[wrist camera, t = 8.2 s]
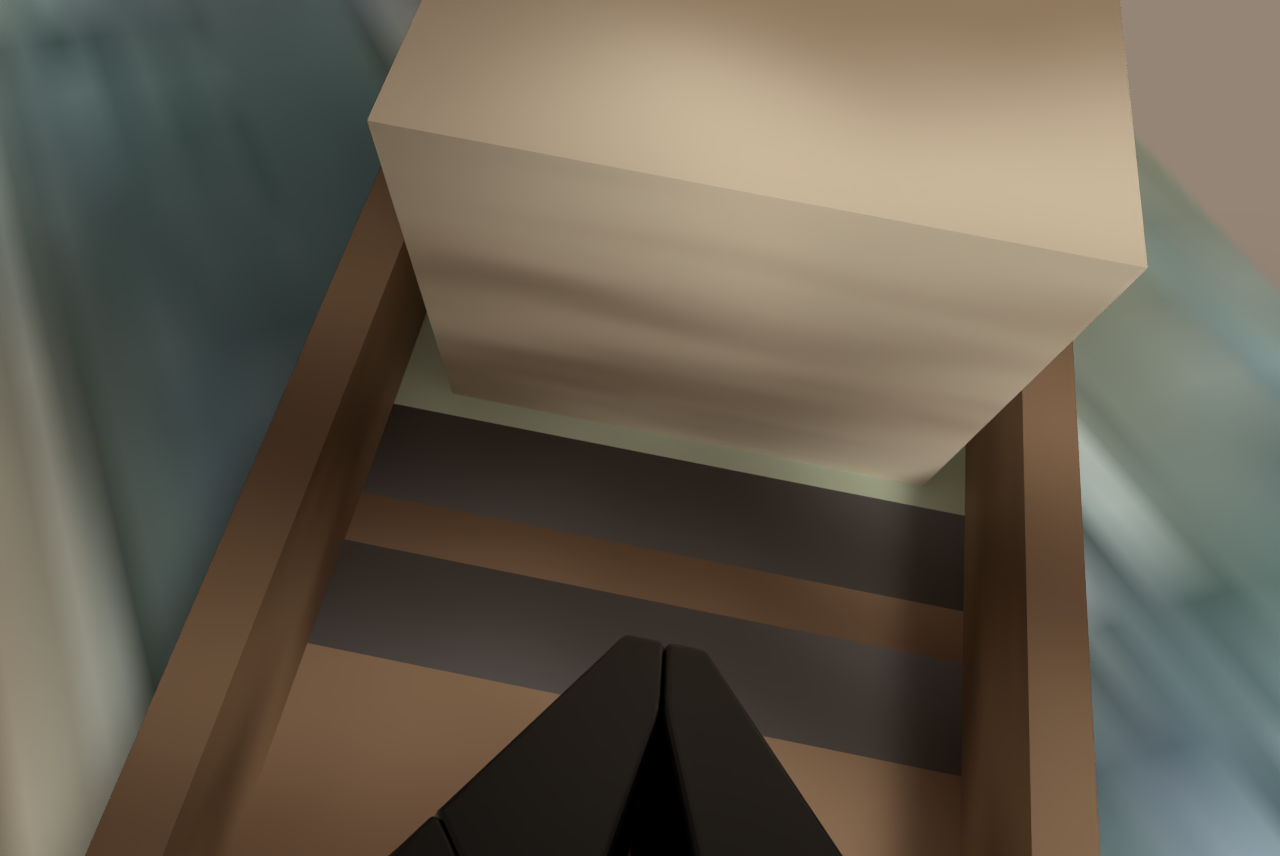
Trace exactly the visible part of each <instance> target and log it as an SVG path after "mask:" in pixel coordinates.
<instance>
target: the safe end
mask: <svg viewBox="0 0 1280 856" xmlns="http://www.w3.org/2000/svg"><path fill="white" fill-rule="evenodd" d="M394 404H398V405H404V406H409V407H414V408H418V409H424V410H429V411H434V412H439V413H444V414H449V415H454V416H459V417H465V418H469V419H475V420H479V421H485V422H490V423H495V424H500V425H505V426H510V427H516V428H521V429H525V430H531V431H536V432H541V433H546V434H551V435H556V436H561V437H567V438H571V439H576V440H582V441H587V442H591V443H597V444H602V445H607V446H612V447H617V448H622V449H628V450H632V451H637V452H642V453H648V454H653V455H658V456H663V457H668V458H673V459H678V460H683V461H688V462H694V463H698V464H704V465H709V466H714V467H719V468H724V469H730V470H734V471H740V472H745V473H750V474H754V475H760V476H765V477H770V478H775V479H781V480H785V481H790V482H795V483H801V484H806V485H811V486H816V487H821V488H826V489H831V490H836V491H841V492H847V493H851V494H857V495H861V496H867V497H872V498H877V499H882V500H887V501H892V502H898V503H902V504H907V505H913V506H917V507H923V508H928V509H933V510H938V511H943V512H948V513H953V514H958V515H964V516H965V457H966V445H965V446H964V447H963V448H962V449H961V450H960V451H959V452H958V453H956V454H955V455H954V456H953V457H952V458H951V459H950V460H949V461H948V462H947V463H946V464H945V465H944V466H943V467H942V468H941V469H940V470H939V471H938V472H937V473H936V474H935V475H934V476H933V477H932V478H931V479H930V480H929V481H928V482H927V483H926V484H925V485H924V486H919V485H914V484H909V483H904V482H899V481H894V480H889V479H884V478H879V477H874V476H869V475H864V474H858V473H853V472H848V471H843V470H838V469H833V468H828V467H823V466H818V465H813V464H808V463H803V462H797V461H792V460H787V459H782V458H777V457H772V456H767V455H762V454H757V453H752V452H747V451H742V450H736V449H731V448H726V447H721V446H716V445H711V444H706V443H701V442H696V441H691V440H686V439H681V438H676V437H670V436H665V435H660V434H655V433H650V432H645V431H640V430H635V429H630V428H625V427H620V426H615V425H609V424H604V423H599V422H594V421H589V420H584V419H579V418H574V417H569V416H564V415H559V414H554V413H548V412H543V411H538V410H533V409H528V408H523V407H518V406H513V405H508V404H503V403H498V402H493V401H487V400H482V399H477V398H472V397H467V396H462V395H457V394H452V390H451V387H450V384H449V381H448V378H447V374H446V371H445V368H444V365H443V362H442V358H441V355H440V352H439V349H438V346H437V342H436V339H435V336H434V333H433V330H432V326H431V323H430V320H429V317H428V314H427V312H426V315H425V318H424V321H423V324H422V326H421V329H420V332H419V335H418V337H417V340H416V343H415V346H414V349H413V351H412V354H411V357H410V360H409V363H408V365H407V368H406V371H405V374H404V376H403V379H402V382H401V385H400V388H399V390H398V393H397V396H396V399H395V401H394Z"/></svg>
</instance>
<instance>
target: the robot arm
mask: <svg viewBox="0 0 1280 856" xmlns="http://www.w3.org/2000/svg"><path fill="white" fill-rule="evenodd" d="M389 856H843V855H842V854H841V852H840V851H839V849H838V848H837V846H836V845H835V843H834V842H833V840H832V839H831V837H830V836H829V834H828V833H827V831H826V830H825V828H824V827H823V826H822V824H821V823H820V821H819V820H818V818H817V817H816V815H815V814H814V812H813V811H812V809H811V808H810V806H809V805H808V803H807V802H806V800H805V799H804V797H803V796H802V794H801V793H800V791H799V790H798V788H797V787H796V785H795V784H794V782H793V781H792V779H791V778H790V776H789V775H788V773H787V772H786V770H785V769H784V767H783V766H782V764H781V763H780V761H779V760H778V758H777V757H776V755H775V754H774V752H773V751H772V749H771V748H770V746H769V745H768V743H767V742H766V740H765V739H764V737H763V736H762V734H761V733H760V731H759V730H758V728H757V727H756V725H755V724H754V722H753V721H752V719H751V718H750V716H749V715H748V713H747V712H746V710H745V709H744V707H743V706H742V704H741V703H740V701H739V700H738V698H737V697H736V695H735V694H734V692H733V691H732V689H731V688H730V686H729V685H728V683H727V682H726V680H725V679H724V677H723V676H722V674H721V673H720V671H719V670H718V668H717V667H716V665H715V664H714V662H713V661H712V659H711V658H710V656H709V655H708V654H707V653H706V652H705V651H703V650H701V649H696V648H691V647H685V646H680V645H675V644H669V645H667V646H666V647H665V649H664V647H663V645H662V644H661V643H660V642H659V641H655V640H650V639H646V638H641V637H636V636H631V635H626V636H623V637H622V638H621V639H620V640H619V641H618V642H616V643H615V644H614V645H613V646H612V647H611V648H610V649H609V650H608V651H607V652H606V653H605V654H604V655H603V656H602V657H600V658H599V659H598V660H597V661H596V662H595V663H594V664H593V665H592V666H591V667H590V668H589V669H588V670H587V671H586V672H585V673H583V674H582V675H581V676H580V677H579V678H578V679H577V680H576V681H575V682H574V683H573V684H572V685H571V686H570V687H569V688H567V689H566V690H565V691H564V692H563V693H562V694H561V695H560V696H559V697H558V698H557V699H556V700H555V701H554V702H553V703H552V704H550V705H549V706H548V707H547V708H546V709H545V710H544V711H543V712H542V713H541V714H540V715H539V716H538V717H537V718H536V719H534V720H533V721H532V722H531V723H530V724H529V725H528V726H527V727H526V728H525V729H524V730H523V731H522V732H521V733H520V734H519V735H517V736H516V737H515V738H514V739H513V740H512V741H511V742H510V743H509V744H508V745H507V746H506V747H505V748H504V749H503V750H502V751H500V752H499V753H498V754H497V755H496V756H495V757H494V758H493V759H492V760H491V761H490V762H489V763H488V764H487V765H486V766H484V767H483V768H482V769H481V770H480V771H479V772H478V773H477V774H476V775H475V776H474V777H473V778H472V779H471V780H470V781H469V782H467V783H466V784H465V785H464V786H463V787H462V788H461V789H460V790H459V791H458V792H457V793H456V794H455V795H454V796H453V797H451V798H450V799H449V800H448V801H447V802H446V803H445V804H444V805H443V806H442V807H441V808H440V809H439V810H438V811H437V812H436V815H435V816H432V817H430V818H428V819H427V820H426V821H425V822H424V823H423V824H422V825H421V826H420V827H419V828H418V829H417V830H416V831H415V832H414V833H413V834H412V835H410V836H409V837H408V838H407V839H406V840H405V841H404V842H403V843H402V844H401V845H400V846H399V847H398V848H397V849H395V850H394V851H393V852H392V853H391V854H390V855H389Z"/></svg>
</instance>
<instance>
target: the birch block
mask: <svg viewBox="0 0 1280 856" xmlns="http://www.w3.org/2000/svg"><path fill="white" fill-rule="evenodd" d="M367 122H368V125H369V128H370V132H371V135H372V138H373V141H374V144H375V148H376V151H377V154H378V157H379V160H380V164H381V167H382V170H383V173H384V176H385V180H386V183H387V186H388V189H389V192H390V196H391V199H392V202H393V205H394V208H395V211H396V215H397V218H398V221H399V224H400V227H401V231H402V234H403V237H404V240H405V243H406V247H407V250H408V253H409V256H410V259H411V263H412V266H413V269H414V272H415V275H416V279H417V282H418V285H419V288H420V291H421V295H422V298H423V301H424V304H425V307H426V311H427V314H428V317H429V320H430V323H431V326H432V330H433V333H434V336H435V339H436V342H437V346H438V349H439V352H440V355H441V358H442V362H443V365H444V368H445V371H446V374H447V378H448V381H449V384H450V387H451V390H452V394H457V395H462V396H467V397H472V398H477V399H482V400H487V401H493V402H498V403H503V404H508V405H513V406H518V407H523V408H528V409H533V410H538V411H543V412H548V413H554V414H559V415H564V416H569V417H574V418H579V419H584V420H589V421H594V422H599V423H604V424H609V425H615V426H620V427H625V428H630V429H635V430H640V431H645V432H650V433H655V434H660V435H665V436H670V437H676V438H681V439H686V440H691V441H696V442H701V443H706V444H711V445H716V446H721V447H726V448H731V449H736V450H742V451H747V452H752V453H757V454H762V455H767V456H772V457H777V458H782V459H787V460H792V461H797V462H803V463H808V464H813V465H818V466H823V467H828V468H833V469H838V470H843V471H848V472H853V473H858V474H864V475H869V476H874V477H879V478H884V479H889V480H894V481H899V482H904V483H909V484H914V485H919V486H924V485H925V484H926V483H927V482H928V481H929V480H930V479H931V478H932V477H933V476H934V475H935V474H936V473H937V472H938V471H939V470H940V469H941V468H942V467H943V466H944V465H945V464H946V463H947V462H948V461H949V460H950V459H951V458H952V457H953V456H954V455H955V454H956V453H958V452H959V451H960V450H961V449H962V448H963V447H964V446H965V445H966V444H967V443H968V442H969V441H970V440H971V439H972V438H973V437H974V436H975V435H976V434H977V433H978V432H979V431H980V430H981V429H982V428H983V427H984V426H985V425H986V424H987V423H988V422H989V421H990V420H992V419H993V418H994V417H995V416H996V415H997V414H998V413H999V412H1000V411H1001V410H1002V409H1003V408H1004V407H1005V406H1006V405H1007V404H1008V403H1009V402H1010V401H1011V400H1012V399H1013V398H1014V397H1015V396H1016V395H1017V394H1018V393H1019V392H1020V391H1021V390H1022V389H1023V388H1024V387H1025V386H1027V385H1028V384H1029V383H1030V382H1031V381H1032V380H1033V379H1034V378H1035V377H1036V376H1037V375H1038V374H1039V373H1040V372H1041V371H1042V370H1043V369H1044V368H1045V367H1046V366H1047V365H1048V364H1049V363H1050V362H1051V361H1052V360H1053V359H1054V358H1055V357H1056V356H1057V355H1058V354H1059V353H1060V352H1062V351H1063V350H1064V349H1065V348H1066V347H1067V346H1068V345H1069V344H1070V343H1071V342H1072V341H1073V340H1074V339H1075V338H1076V337H1077V336H1078V335H1079V334H1080V333H1081V332H1082V331H1083V330H1084V329H1085V328H1086V327H1087V326H1088V325H1089V324H1090V323H1091V322H1092V321H1093V320H1094V319H1096V318H1097V317H1098V316H1099V315H1100V314H1101V313H1102V312H1103V311H1104V310H1105V309H1106V308H1107V307H1108V306H1109V305H1110V304H1111V303H1112V302H1113V301H1114V300H1115V299H1116V298H1117V297H1118V296H1119V295H1120V294H1121V293H1122V292H1123V291H1124V290H1125V289H1126V288H1127V287H1128V286H1129V285H1131V284H1132V283H1133V282H1134V281H1135V280H1136V279H1137V278H1138V277H1139V276H1140V275H1141V274H1142V273H1143V272H1144V271H1145V270H1146V269H1147V268H1148V267H1147V257H1146V248H1145V238H1144V228H1143V219H1142V209H1141V199H1140V190H1139V180H1138V170H1137V161H1136V151H1135V141H1134V132H1133V122H1132V112H1131V103H1130V93H1129V84H1128V74H1127V65H1126V55H1125V45H1124V36H1123V25H1122V17H1121V6H1120V0H422V1H421V3H420V5H419V7H418V10H417V12H416V14H415V16H414V18H413V21H412V23H411V25H410V27H409V29H408V32H407V34H406V36H405V38H404V40H403V43H402V45H401V47H400V49H399V51H398V53H397V56H396V58H395V60H394V62H393V64H392V67H391V69H390V71H389V73H388V75H387V78H386V80H385V82H384V84H383V86H382V89H381V91H380V93H379V95H378V97H377V100H376V102H375V104H374V106H373V108H372V111H371V113H370V115H369V117H368V119H367Z"/></svg>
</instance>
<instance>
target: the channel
mask: <svg viewBox="0 0 1280 856" xmlns="http://www.w3.org/2000/svg"><path fill="white" fill-rule="evenodd" d="M426 312H427V311H426V307H425V304H424V301H423V298H422V295H421V291H420V288H419V285H418V282H417V279H416V275H415V272H414V269H413V266H412V263H411V259H410V256H409V253H408V250H407V247H406V243H405V240H404V237H403V234H402V231H401V227H400V224H399V221H398V218H397V215H396V211H395V208H394V205H393V202H392V199H391V196H390V192H389V189H388V186H387V183H386V180H385V176H384V173H383V170H382V167H380V170H379V172H378V174H377V177H376V179H375V181H374V183H373V186H372V188H371V190H370V193H369V195H368V197H367V200H366V202H365V204H364V207H363V209H362V211H361V214H360V216H359V218H358V221H357V223H356V225H355V228H354V230H353V232H352V235H351V237H350V239H349V242H348V244H347V246H346V249H345V251H344V253H343V256H342V258H341V260H340V263H339V265H338V267H337V270H336V272H335V274H334V277H333V279H332V281H331V284H330V286H329V288H328V291H327V293H326V295H325V298H324V300H323V302H322V305H321V307H320V309H319V312H318V314H317V316H316V319H315V321H314V323H313V326H312V328H311V330H310V333H309V335H308V337H307V340H306V342H305V344H304V347H303V349H302V351H301V354H300V356H299V358H298V361H297V363H296V365H295V368H294V370H293V372H292V375H291V377H290V379H289V382H288V384H287V386H286V389H285V391H284V393H283V396H282V398H281V400H280V403H279V405H278V407H277V410H276V412H275V414H274V417H273V419H272V421H271V424H270V426H269V428H268V431H267V433H266V435H265V438H264V440H263V442H262V445H261V447H260V449H259V452H258V454H257V456H256V459H255V461H254V463H253V466H252V468H251V470H250V473H249V475H248V477H247V480H246V482H245V484H244V487H243V489H242V491H241V494H240V496H239V498H238V501H237V503H236V505H235V508H234V510H233V512H232V515H231V517H230V519H229V522H228V524H227V526H226V529H225V531H224V533H223V536H222V538H221V540H220V543H219V545H218V547H217V550H216V552H215V554H214V557H213V559H212V561H211V564H210V566H209V568H208V571H207V573H206V575H205V578H204V580H203V582H202V585H201V587H200V589H199V592H198V594H197V596H196V599H195V601H194V603H193V606H192V608H191V610H190V613H189V615H188V617H187V620H186V622H185V624H184V627H183V629H182V631H181V634H180V636H179V638H178V641H177V643H176V645H175V648H174V650H173V652H172V655H171V657H170V659H169V662H168V664H167V666H166V669H165V671H164V673H163V676H162V678H161V680H160V683H159V685H158V687H157V690H156V692H155V694H154V697H153V699H152V701H151V704H150V706H149V708H148V711H147V713H146V715H145V718H144V720H143V722H142V725H141V727H140V729H139V732H138V734H137V736H136V739H135V741H134V743H133V746H132V748H131V750H130V753H129V755H128V757H127V760H126V762H125V764H124V767H123V769H122V771H121V774H120V776H119V778H118V781H117V783H116V785H115V788H114V790H113V792H112V795H111V797H110V799H109V802H108V804H107V806H106V809H105V811H104V813H103V816H102V818H101V820H100V823H99V825H98V827H97V830H96V832H95V834H94V837H93V839H92V841H91V844H90V846H89V848H88V851H87V853H86V855H85V856H389V855H390V854H391V853H392V852H393V851H394V850H395V849H397V848H398V847H399V846H400V845H401V844H402V843H403V842H404V841H405V840H406V839H407V838H408V837H409V836H410V835H412V834H413V833H414V832H415V831H416V830H417V829H418V828H419V827H420V826H421V825H422V824H423V823H424V822H425V821H426V820H427V819H428V818H430V817H432V816H435V815H436V812H437V811H438V810H439V809H440V808H441V807H442V806H443V805H444V804H445V803H446V802H447V801H448V800H449V799H450V798H451V797H453V796H454V795H455V794H456V793H457V792H458V791H459V790H460V789H461V788H462V787H463V786H464V785H465V784H466V783H467V782H469V781H470V780H471V779H472V778H473V777H474V776H475V775H476V774H477V773H478V772H479V771H480V770H481V769H482V768H483V767H484V766H486V765H487V764H488V763H489V762H490V761H491V760H492V759H493V758H494V757H495V756H496V755H497V754H498V753H499V752H500V751H502V750H503V749H504V748H505V747H506V746H507V745H508V744H509V743H510V742H511V741H512V740H513V739H514V738H515V737H516V736H517V735H519V734H520V733H521V732H522V731H523V730H524V729H525V728H526V727H527V726H528V725H529V724H530V723H531V722H532V721H533V720H534V719H536V718H537V717H538V716H539V715H540V714H541V713H542V712H543V711H544V710H545V709H546V708H547V707H548V706H549V705H550V704H552V703H553V702H554V701H555V700H556V699H557V698H558V697H559V696H560V695H561V694H562V693H563V692H564V691H565V690H566V689H567V688H569V687H570V686H571V685H572V684H573V683H574V682H575V681H576V680H577V679H578V678H579V677H580V676H581V675H582V674H583V673H585V672H586V671H587V670H588V669H589V668H590V667H591V666H592V665H593V664H594V663H595V662H596V661H597V660H598V659H599V658H600V657H602V656H603V655H604V654H605V653H606V652H607V651H608V650H609V649H610V648H611V647H612V646H613V645H614V644H615V643H616V642H618V641H619V640H620V639H621V638H622V637H623V636H626V635H631V636H636V637H641V638H646V639H650V640H655V641H659V642H660V643H661V644H662V645H663V647H664V649H665V647H666V646H667V645H669V644H675V645H680V646H685V647H691V648H696V649H701V650H703V651H705V652H706V653H707V654H708V655H709V656H710V658H711V659H712V661H713V662H714V664H715V665H716V667H717V668H718V670H719V671H720V673H721V674H722V676H723V677H724V679H725V680H726V682H727V683H728V685H729V686H730V688H731V689H732V691H733V692H734V694H735V695H736V697H737V698H738V700H739V701H740V703H741V704H742V706H743V707H744V709H745V710H746V712H747V713H748V715H749V716H750V718H751V719H752V721H753V722H754V724H755V725H756V727H757V728H758V730H759V731H760V733H761V734H762V736H763V737H764V739H765V740H766V742H767V743H768V745H769V746H770V748H771V749H772V751H773V752H774V754H775V755H776V757H777V758H778V760H779V761H780V763H781V764H782V766H783V767H784V769H785V770H786V772H787V773H788V775H789V776H790V778H791V779H792V781H793V782H794V784H795V785H796V787H797V788H798V790H799V791H800V793H801V794H802V796H803V797H804V799H805V800H806V802H807V803H808V805H809V806H810V808H811V809H812V811H813V812H814V814H815V815H816V817H817V818H818V820H819V821H820V823H821V824H822V826H823V827H824V828H825V830H826V831H827V833H828V834H829V836H830V837H831V839H832V840H833V842H834V843H835V845H836V846H837V848H838V849H839V851H840V852H841V854H842V855H843V856H1100V846H1099V827H1098V808H1097V789H1096V770H1095V751H1094V732H1093V713H1092V695H1091V676H1090V657H1089V638H1088V619H1087V600H1086V581H1085V562H1084V544H1083V525H1082V506H1081V487H1080V468H1079V449H1078V430H1077V411H1076V393H1075V374H1074V355H1073V341H1072V342H1071V343H1070V344H1069V345H1068V346H1067V347H1066V348H1065V349H1064V350H1063V351H1062V352H1060V353H1059V354H1058V355H1057V356H1056V357H1055V358H1054V359H1053V360H1052V361H1051V362H1050V363H1049V364H1048V365H1047V366H1046V367H1045V368H1044V369H1043V370H1042V371H1041V372H1040V373H1039V374H1038V375H1037V376H1036V377H1035V378H1034V379H1033V380H1032V381H1031V382H1030V383H1029V384H1028V385H1027V386H1025V387H1024V388H1023V389H1022V390H1021V391H1020V392H1019V393H1018V394H1017V395H1016V396H1015V397H1014V398H1013V399H1012V400H1011V401H1010V402H1009V403H1008V404H1007V405H1006V406H1005V407H1004V408H1003V409H1002V410H1001V411H1000V412H999V413H998V414H997V415H996V416H995V417H994V418H993V419H992V420H990V421H989V422H988V423H987V424H986V425H985V426H984V427H983V428H982V429H981V430H980V431H979V432H978V433H977V434H976V435H975V436H974V437H973V438H972V439H971V440H970V441H969V442H968V443H967V444H966V457H965V516H964V515H958V514H953V513H948V512H943V511H938V510H933V509H928V508H923V507H917V506H913V505H907V504H902V503H898V502H892V501H887V500H882V499H877V498H872V497H867V496H861V495H857V494H851V493H847V492H841V491H836V490H831V489H826V488H821V487H816V486H811V485H806V484H801V483H795V482H790V481H785V480H781V479H775V478H770V477H765V476H760V475H754V474H750V473H745V472H740V471H734V470H730V469H724V468H719V467H714V466H709V465H704V464H698V463H694V462H688V461H683V460H678V459H673V458H668V457H663V456H658V455H653V454H648V453H642V452H637V451H632V450H628V449H622V448H617V447H612V446H607V445H602V444H597V443H591V442H587V441H582V440H576V439H571V438H567V437H561V436H556V435H551V434H546V433H541V432H536V431H531V430H525V429H521V428H516V427H510V426H505V425H500V424H495V423H490V422H485V421H479V420H475V419H469V418H465V417H459V416H454V415H449V414H444V413H439V412H434V411H429V410H424V409H418V408H414V407H409V406H404V405H398V404H394V401H395V399H396V396H397V393H398V390H399V388H400V385H401V382H402V379H403V376H404V374H405V371H406V368H407V365H408V363H409V360H410V357H411V354H412V351H413V349H414V346H415V343H416V340H417V337H418V335H419V332H420V329H421V326H422V324H423V321H424V318H425V315H426Z"/></svg>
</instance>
